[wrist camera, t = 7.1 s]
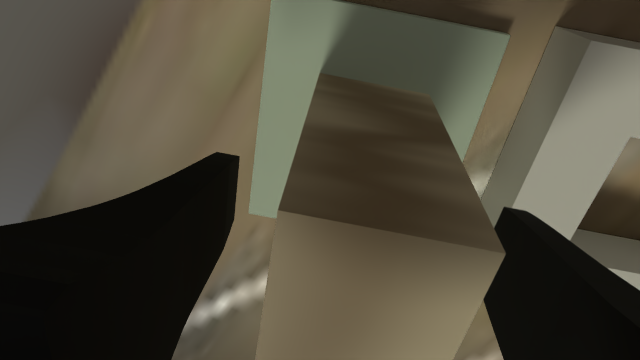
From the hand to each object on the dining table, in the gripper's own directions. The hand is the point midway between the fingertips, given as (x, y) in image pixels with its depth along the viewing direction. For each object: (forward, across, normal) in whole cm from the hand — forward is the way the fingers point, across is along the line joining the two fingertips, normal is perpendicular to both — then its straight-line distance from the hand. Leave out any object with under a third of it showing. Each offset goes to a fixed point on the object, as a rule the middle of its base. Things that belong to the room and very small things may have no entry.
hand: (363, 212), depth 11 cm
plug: (+5, 0, 0) cm, 5 cm away
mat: (+6, 0, 0) cm, 6 cm away
